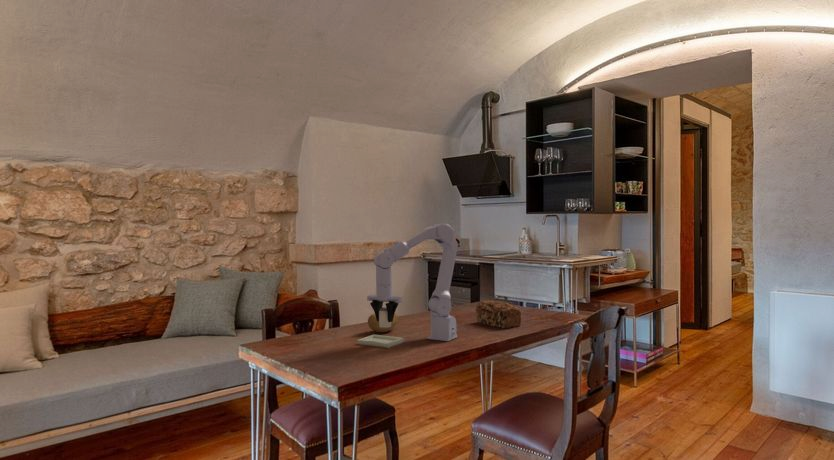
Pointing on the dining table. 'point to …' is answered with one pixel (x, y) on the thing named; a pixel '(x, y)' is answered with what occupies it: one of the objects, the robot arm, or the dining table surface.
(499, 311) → the bread
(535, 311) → the dining table surface
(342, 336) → the dining table surface
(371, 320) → the potato
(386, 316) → the shaker
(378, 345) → the tray
